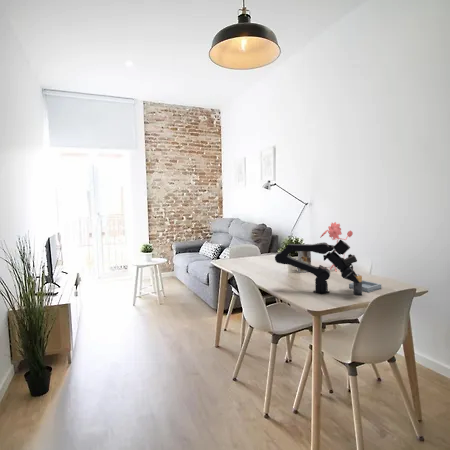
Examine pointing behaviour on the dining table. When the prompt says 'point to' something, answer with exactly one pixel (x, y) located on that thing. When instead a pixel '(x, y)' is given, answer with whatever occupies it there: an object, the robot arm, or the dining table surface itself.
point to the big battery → (358, 285)
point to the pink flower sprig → (336, 234)
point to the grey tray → (368, 286)
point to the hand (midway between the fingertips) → (358, 280)
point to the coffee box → (304, 259)
